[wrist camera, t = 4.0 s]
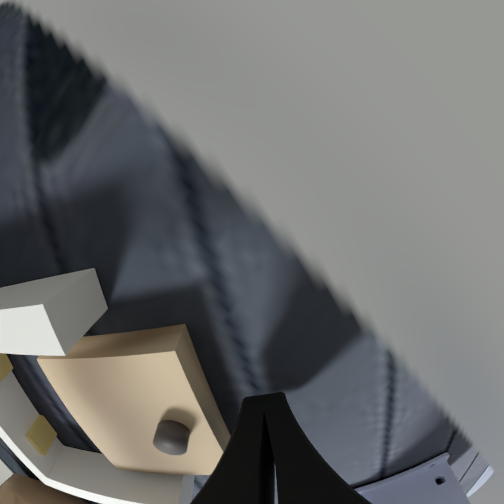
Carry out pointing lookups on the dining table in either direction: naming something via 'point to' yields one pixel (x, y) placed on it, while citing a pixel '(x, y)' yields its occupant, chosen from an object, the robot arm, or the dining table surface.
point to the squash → (33, 492)
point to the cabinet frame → (36, 426)
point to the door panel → (142, 400)
